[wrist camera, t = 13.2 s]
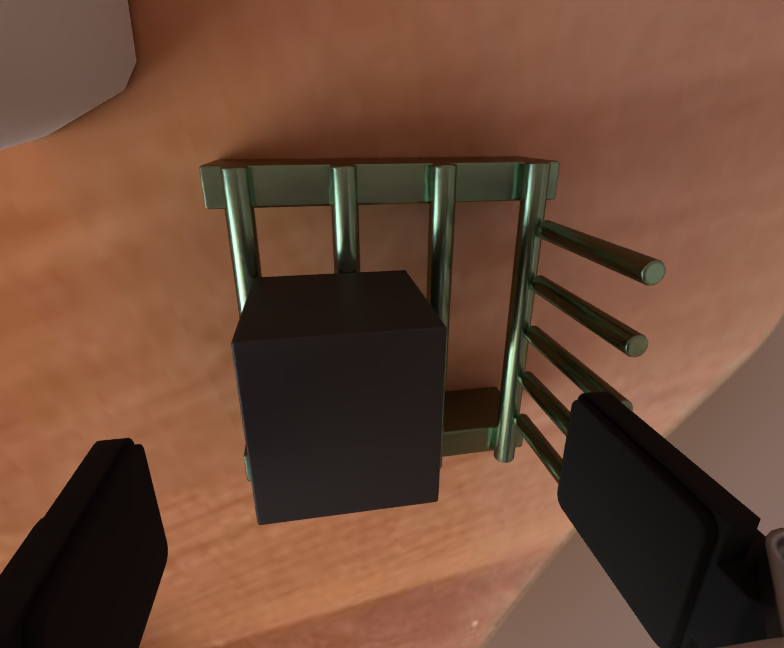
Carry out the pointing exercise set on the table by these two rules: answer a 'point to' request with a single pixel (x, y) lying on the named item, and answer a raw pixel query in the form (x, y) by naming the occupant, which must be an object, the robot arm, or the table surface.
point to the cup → (59, 62)
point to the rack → (447, 269)
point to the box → (340, 393)
